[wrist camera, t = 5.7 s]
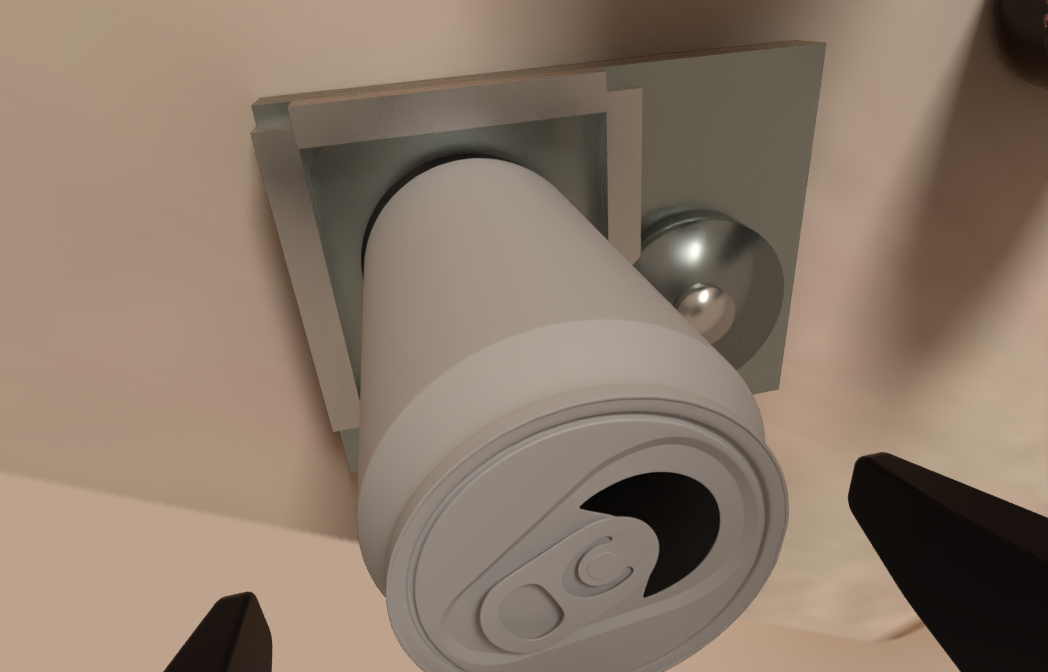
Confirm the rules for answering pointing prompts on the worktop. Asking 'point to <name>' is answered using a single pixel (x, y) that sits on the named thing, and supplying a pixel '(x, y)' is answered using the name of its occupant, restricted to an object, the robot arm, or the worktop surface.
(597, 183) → the grey flat piece
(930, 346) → the worktop surface
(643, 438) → the beverage can
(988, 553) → the robot arm
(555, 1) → the worktop surface
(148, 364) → the worktop surface
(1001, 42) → the supplement bottle
